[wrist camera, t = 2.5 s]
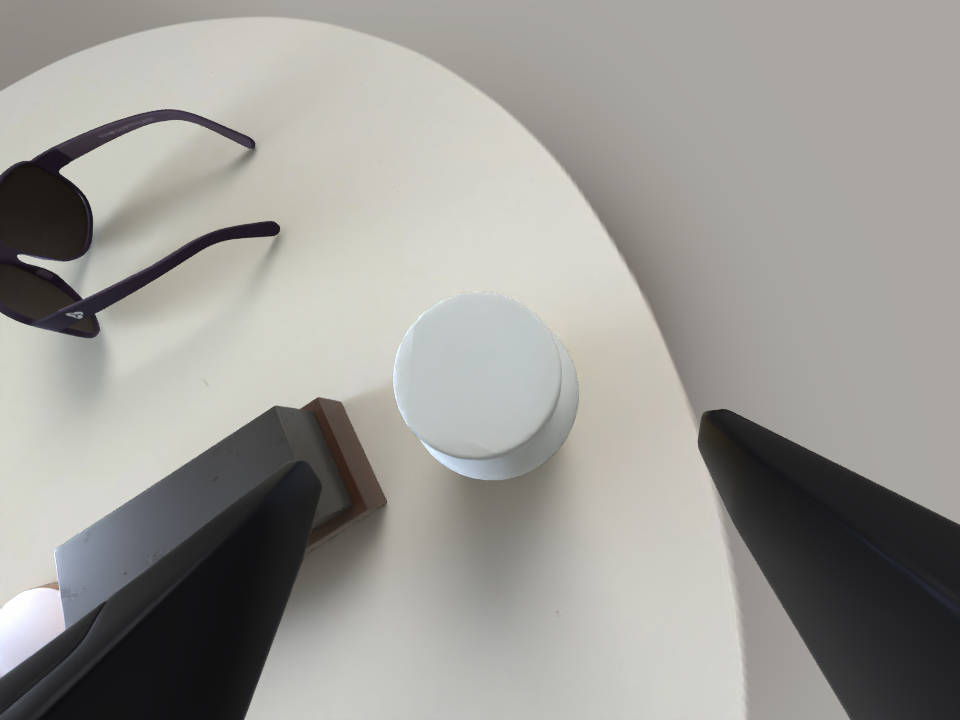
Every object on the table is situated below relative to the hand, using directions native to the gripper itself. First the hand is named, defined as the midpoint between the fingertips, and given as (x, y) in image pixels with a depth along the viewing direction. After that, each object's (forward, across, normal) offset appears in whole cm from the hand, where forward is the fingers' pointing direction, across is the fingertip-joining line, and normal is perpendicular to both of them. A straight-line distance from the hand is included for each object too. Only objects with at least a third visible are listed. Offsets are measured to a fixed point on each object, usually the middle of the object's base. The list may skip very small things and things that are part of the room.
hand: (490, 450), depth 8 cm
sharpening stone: (+5, +14, +8) cm, 17 cm away
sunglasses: (+19, +22, -6) cm, 30 cm away
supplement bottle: (+8, 0, +5) cm, 9 cm away
